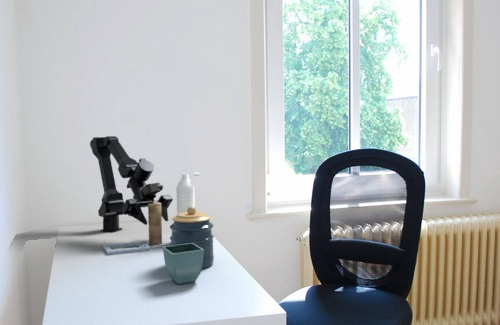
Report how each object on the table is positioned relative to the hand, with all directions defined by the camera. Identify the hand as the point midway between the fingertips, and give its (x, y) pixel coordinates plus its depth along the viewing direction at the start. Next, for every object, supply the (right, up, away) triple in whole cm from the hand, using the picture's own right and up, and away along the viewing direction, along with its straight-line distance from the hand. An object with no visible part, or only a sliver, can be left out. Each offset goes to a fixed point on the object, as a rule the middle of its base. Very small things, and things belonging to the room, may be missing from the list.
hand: (157, 222), depth 168 cm
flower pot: (+15, -10, -42) cm, 46 cm away
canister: (+16, -9, -26) cm, 32 cm away
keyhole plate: (-10, -8, -7) cm, 14 cm away
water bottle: (+11, -8, +4) cm, 14 cm away
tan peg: (-1, -8, +1) cm, 8 cm away
